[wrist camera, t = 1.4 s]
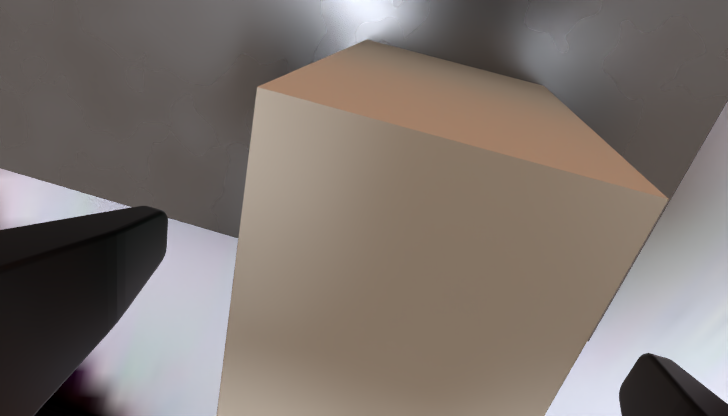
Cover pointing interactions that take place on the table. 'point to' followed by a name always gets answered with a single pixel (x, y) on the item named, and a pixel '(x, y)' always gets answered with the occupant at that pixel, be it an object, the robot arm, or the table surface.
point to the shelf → (307, 45)
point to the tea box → (421, 241)
